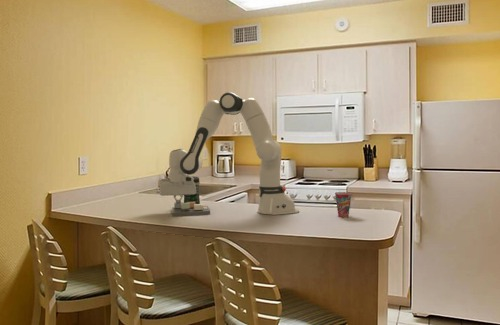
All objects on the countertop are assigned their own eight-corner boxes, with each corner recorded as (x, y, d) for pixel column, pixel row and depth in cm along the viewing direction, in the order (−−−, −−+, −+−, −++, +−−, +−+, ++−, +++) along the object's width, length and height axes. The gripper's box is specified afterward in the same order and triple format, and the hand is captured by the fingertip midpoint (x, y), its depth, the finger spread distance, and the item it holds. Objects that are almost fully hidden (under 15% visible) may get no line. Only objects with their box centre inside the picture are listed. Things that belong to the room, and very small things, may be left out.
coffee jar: (192, 209, 254) (191, 177, 252) (181, 208, 258) (180, 177, 257) (202, 207, 262) (201, 176, 261) (192, 206, 266) (191, 175, 265)
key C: (195, 206, 251) (194, 201, 251) (195, 207, 246) (195, 202, 246) (187, 206, 250) (186, 202, 250) (187, 207, 246) (187, 203, 245)
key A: (202, 208, 243) (202, 203, 242) (202, 209, 238) (202, 205, 238) (194, 208, 242) (193, 204, 242) (194, 210, 237) (194, 205, 237)
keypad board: (207, 209, 254) (207, 205, 254) (210, 214, 237) (210, 210, 237) (172, 210, 251) (172, 206, 251) (172, 216, 233) (172, 212, 233)
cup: (339, 218, 218) (339, 194, 218) (332, 215, 226) (331, 192, 226) (356, 217, 221) (356, 193, 220) (348, 214, 229) (348, 191, 228)
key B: (189, 207, 241) (189, 202, 241) (189, 208, 237) (189, 203, 237) (181, 207, 240) (180, 202, 240) (181, 208, 236) (181, 204, 236)
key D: (182, 206, 250) (182, 202, 249) (182, 207, 245) (182, 203, 245) (174, 207, 249) (174, 202, 249) (174, 208, 244) (174, 203, 244)
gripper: (158, 179, 241) (159, 204, 242) (196, 178, 245) (196, 202, 245) (158, 178, 247) (159, 202, 248) (195, 177, 251) (196, 201, 252)
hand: (178, 202), depth 247 cm, fingers closed, pressing on key D
